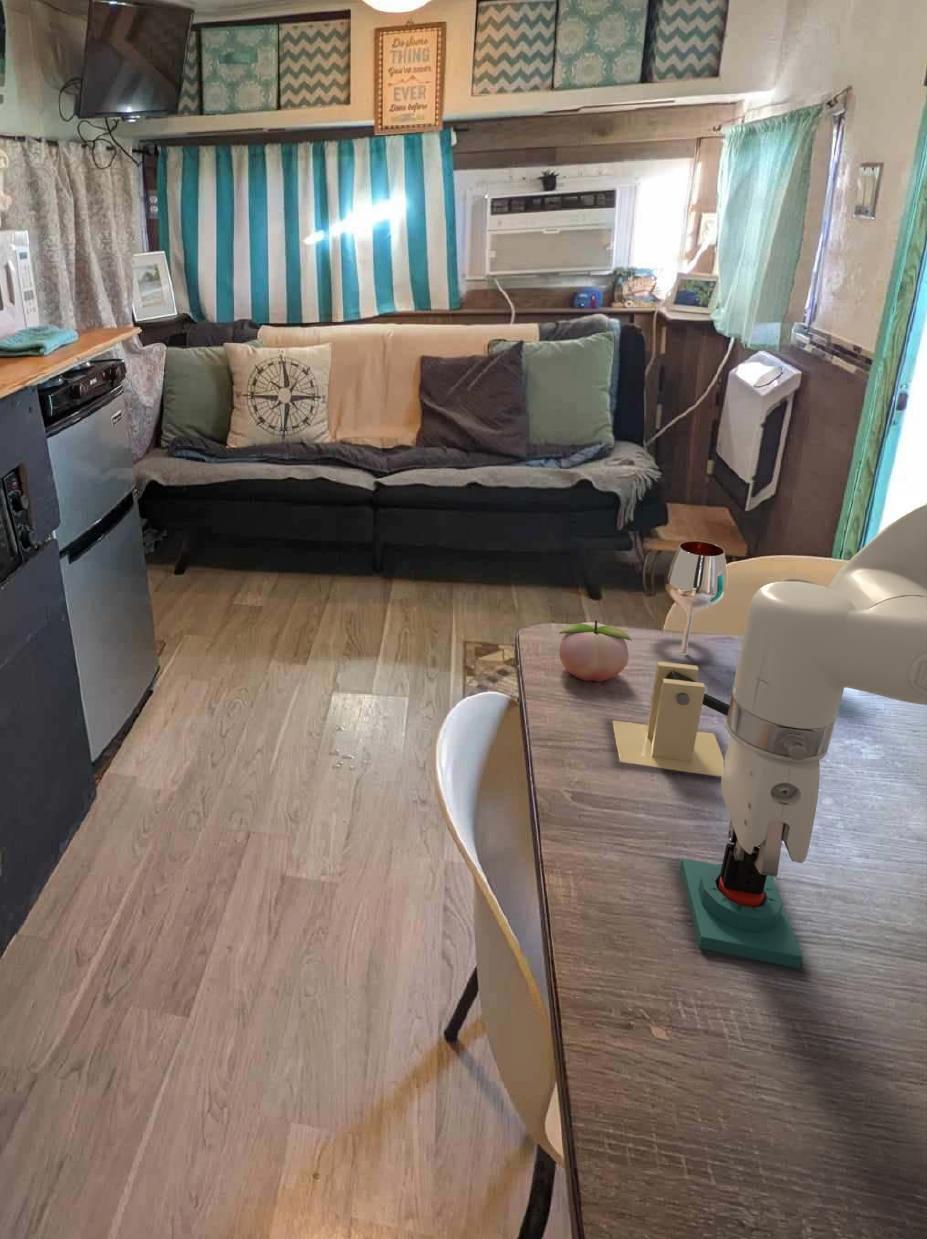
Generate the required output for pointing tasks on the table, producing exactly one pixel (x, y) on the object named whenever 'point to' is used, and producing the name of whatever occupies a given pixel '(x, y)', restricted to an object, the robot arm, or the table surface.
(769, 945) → the control block
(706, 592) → the wineglass
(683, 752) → the bracket
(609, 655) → the decorative fruit
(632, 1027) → the table surface
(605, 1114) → the table surface
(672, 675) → the lever
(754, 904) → the button
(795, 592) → the robot arm
